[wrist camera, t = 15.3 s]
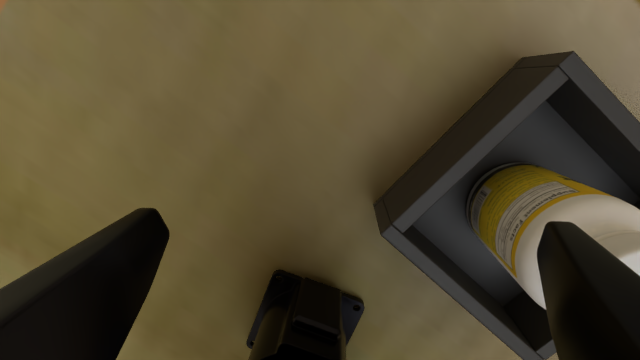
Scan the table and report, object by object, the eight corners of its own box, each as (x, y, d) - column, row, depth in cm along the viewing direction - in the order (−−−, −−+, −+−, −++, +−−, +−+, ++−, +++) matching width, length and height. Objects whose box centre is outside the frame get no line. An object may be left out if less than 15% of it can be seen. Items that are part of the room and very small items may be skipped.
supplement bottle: (574, 216, 21) (763, 327, 12) (490, 260, 22) (600, 396, 13) (533, 141, 20) (704, 196, 11) (447, 191, 21) (531, 282, 12)
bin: (498, 316, 24) (533, 369, 19) (372, 204, 22) (379, 235, 18) (653, 195, 21) (735, 225, 17) (522, 57, 19) (573, 50, 15)
